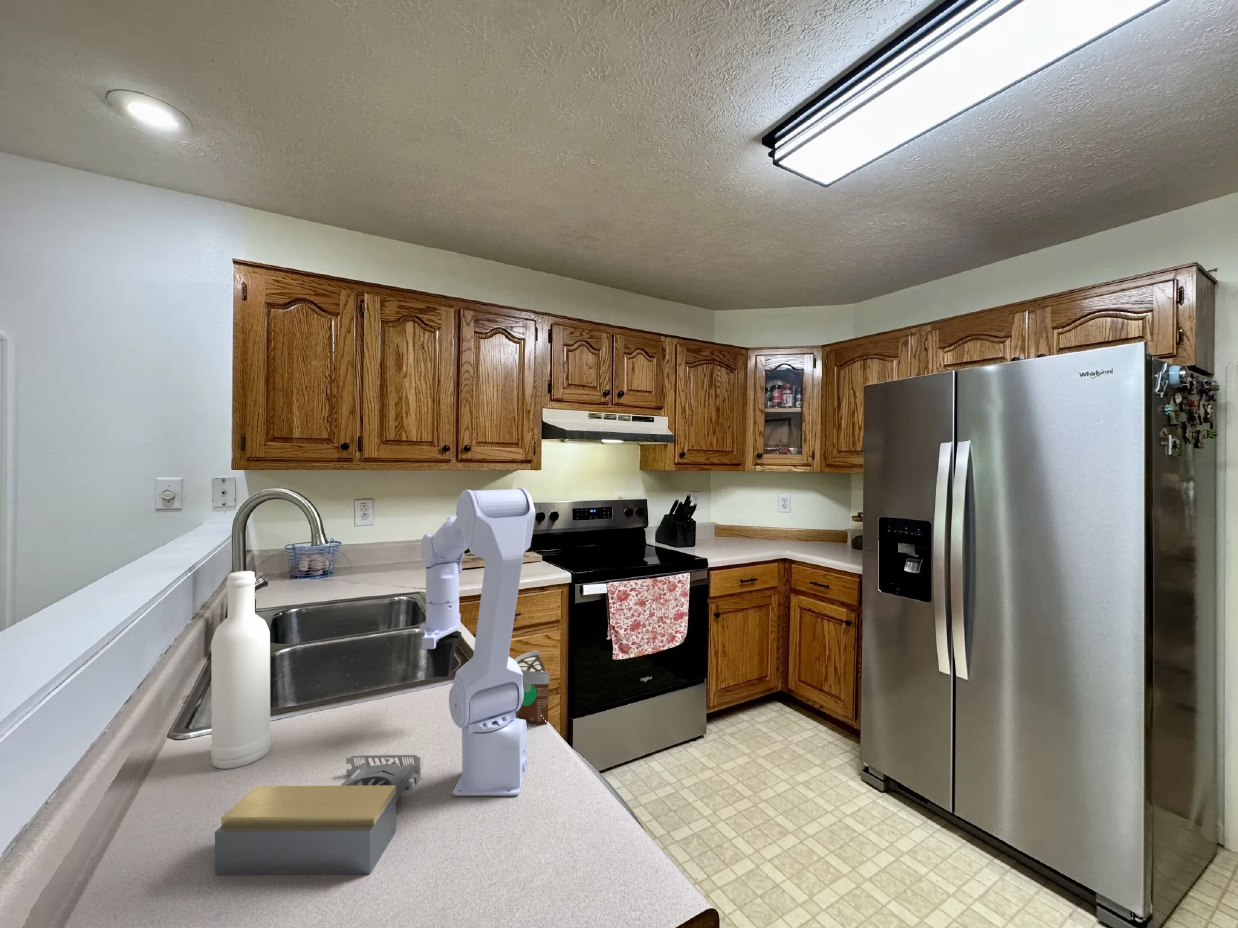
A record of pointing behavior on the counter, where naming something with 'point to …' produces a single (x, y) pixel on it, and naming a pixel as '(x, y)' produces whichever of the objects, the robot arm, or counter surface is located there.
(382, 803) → the grey flat box
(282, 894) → the counter surface
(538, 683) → the food container
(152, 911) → the counter surface
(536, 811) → the counter surface
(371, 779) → the graphics card
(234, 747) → the bottle
